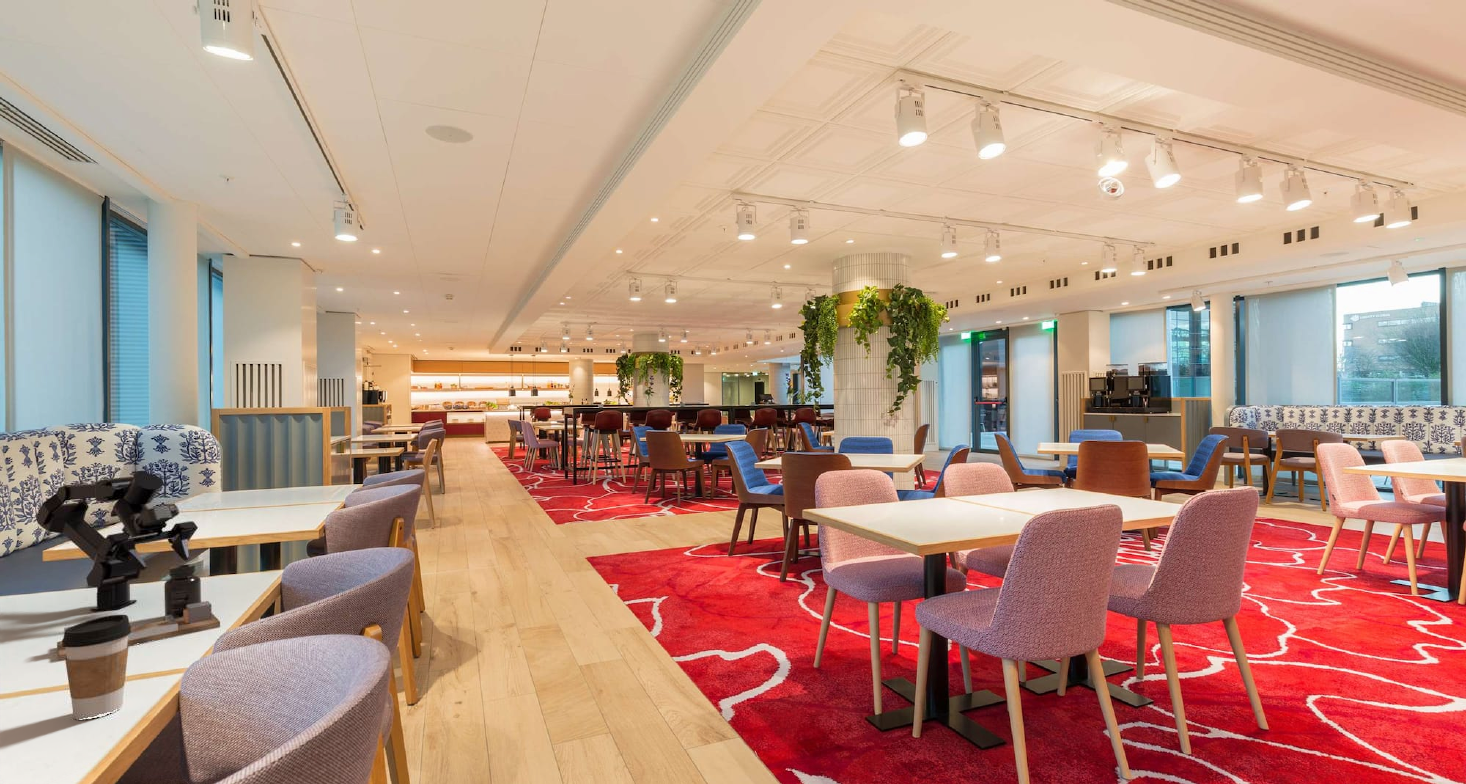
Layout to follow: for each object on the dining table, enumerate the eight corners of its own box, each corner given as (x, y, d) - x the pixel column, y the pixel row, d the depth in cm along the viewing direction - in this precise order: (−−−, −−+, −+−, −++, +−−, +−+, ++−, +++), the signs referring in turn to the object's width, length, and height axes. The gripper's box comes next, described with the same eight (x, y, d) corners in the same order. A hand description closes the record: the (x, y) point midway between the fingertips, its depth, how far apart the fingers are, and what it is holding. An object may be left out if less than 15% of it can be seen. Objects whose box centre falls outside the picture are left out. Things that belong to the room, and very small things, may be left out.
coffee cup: (144, 704, 114) (143, 616, 114) (82, 728, 106) (81, 633, 106) (112, 698, 117) (111, 612, 117) (50, 720, 109) (49, 628, 109)
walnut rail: (210, 616, 161) (210, 597, 161) (220, 626, 154) (219, 606, 154) (57, 647, 142) (56, 625, 142) (59, 661, 135) (59, 637, 135)
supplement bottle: (208, 611, 165) (208, 563, 165) (183, 621, 158) (182, 570, 158) (183, 611, 166) (182, 562, 166) (156, 620, 159) (156, 570, 159)
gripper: (105, 501, 157) (137, 550, 153) (192, 489, 175) (222, 534, 171) (84, 533, 159) (115, 582, 156) (172, 519, 177) (201, 563, 173)
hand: (166, 564), depth 164 cm, fingers open, 9 cm apart
